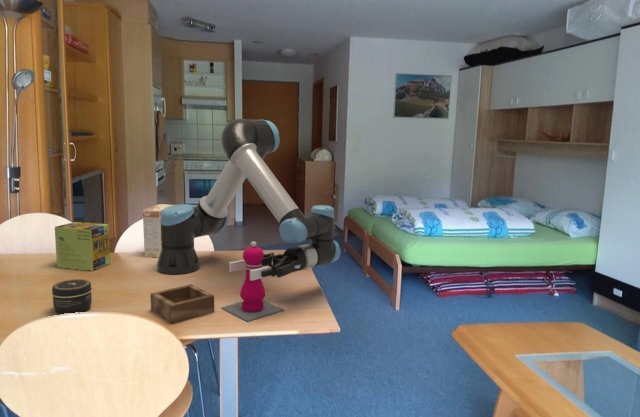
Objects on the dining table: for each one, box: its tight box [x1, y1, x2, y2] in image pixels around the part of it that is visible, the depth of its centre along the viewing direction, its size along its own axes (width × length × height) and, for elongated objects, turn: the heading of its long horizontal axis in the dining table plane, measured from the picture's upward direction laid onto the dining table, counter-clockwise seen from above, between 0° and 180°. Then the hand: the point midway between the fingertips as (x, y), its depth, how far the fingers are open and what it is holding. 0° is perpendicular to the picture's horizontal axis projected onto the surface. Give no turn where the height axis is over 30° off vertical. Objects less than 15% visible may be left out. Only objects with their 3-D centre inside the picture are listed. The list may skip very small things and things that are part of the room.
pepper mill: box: [239, 241, 266, 312], centre depth 140 cm, size 7×7×20 cm
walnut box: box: [150, 283, 215, 325], centre depth 139 cm, size 13×13×5 cm
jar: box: [51, 278, 93, 315], centre depth 138 cm, size 10×10×8 cm
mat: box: [221, 299, 285, 323], centre depth 142 cm, size 13×13×1 cm
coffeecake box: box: [142, 203, 174, 259], centre depth 200 cm, size 15×7×20 cm, turn 171°
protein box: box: [54, 221, 112, 272], centre depth 179 cm, size 10×15×16 cm
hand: (240, 271), depth 137 cm, fingers open, 9 cm apart
